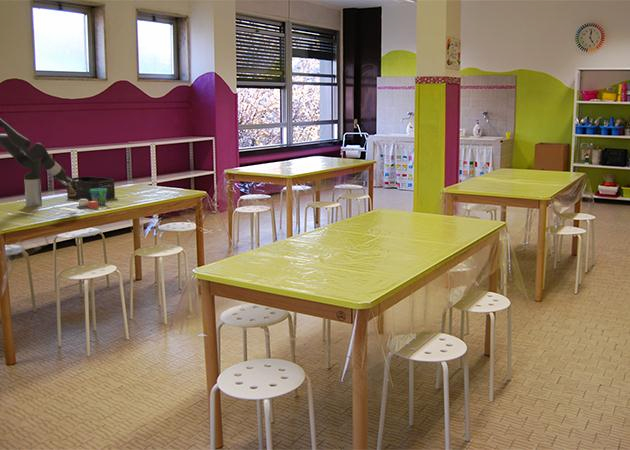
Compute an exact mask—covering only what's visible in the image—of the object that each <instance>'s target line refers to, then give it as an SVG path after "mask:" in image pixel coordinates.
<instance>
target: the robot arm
mask: <svg viewBox="0 0 630 450" xmlns="http://www.w3.org/2000/svg"><path fill="white" fill-rule="evenodd" d="M1 127H2V128H3V130H5V133H0V147H2V148H3V149H4V150H5V151H6V152H7V153H9V155H11V156H12V157H13V158H14V159H15V160H16V162H17V163H18V164H19V165H20V166H21V167H22V168H25V169H30V171H29V172H28V173H25V174H24V175H23V179H24V182H23V183H24V190H25V191H24V199H25V206H26V207H27V208H29V207H31V208H33V207H35V208H36V207H41V206H43V200H42V199H43V198H42V186H41V167H42V168H43V169H44V170H46V172H47V173H48V174H49V175H50V176H51V177H52V178H53V179H54V180H56V181H58V182H59V183H60V184H62V185H63V186H65V187H67V186H68V185H70V186H71V187H72V188H73V189H74V190H75V191H76V190H77V188H78V187H77V186H76V185H77V184H76V185H75V181H74V180H73V178H74V177H69V176H68V175H67V173H66V170H65V169H64V168H63V167H62V166H61V165H60V164H59V163H58V162H56V161H55V159H53V158H52V157H51V156H50V154H49V152H48V151H47V149H46V147H45V145H44V144H42V143H41V142H36V143H34V144H33V145H32V143H31V140H30V139H28V137H25V136H23V135H22V134H21V133H19V132H17V130H15V129H14V128H13V127H12V126H10V124H8V123H7V122H6V121H4V120H3V119H2V118H0V128H1ZM31 145H32V146H31Z"/></svg>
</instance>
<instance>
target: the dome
mask: <svg viewBox="0 0 630 450" xmlns="http://www.w3.org/2000/svg"><path fill="white" fill-rule="evenodd" d="M77 200H78V199H77ZM77 202H78V206H87V205H88V202H89V201H88V200H87V199H80V200H78V201H77Z"/></svg>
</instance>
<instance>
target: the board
mask: <svg viewBox="0 0 630 450" xmlns="http://www.w3.org/2000/svg"><path fill="white" fill-rule="evenodd" d="M58 209H59V210H66V211H73V212H74V211H75V212H77V213H79V214H80V213H82V212H84V213H85V212H86V213H87V212H88V210H87V211H85V210H82V209H91V210H90V211H91V212H92V211H93V210H95V211H97V210H99V205H98V202H97V201H88V205H87V206H79V205H77V206H76V208H70V207H59V208H58Z"/></svg>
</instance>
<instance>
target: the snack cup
mask: <svg viewBox="0 0 630 450" xmlns="http://www.w3.org/2000/svg"><path fill="white" fill-rule="evenodd" d="M106 192H107V189H106V188H94V189H90V193H91V197H92V201H97V202H98V206H105V205H106V202H107V200H106Z"/></svg>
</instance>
